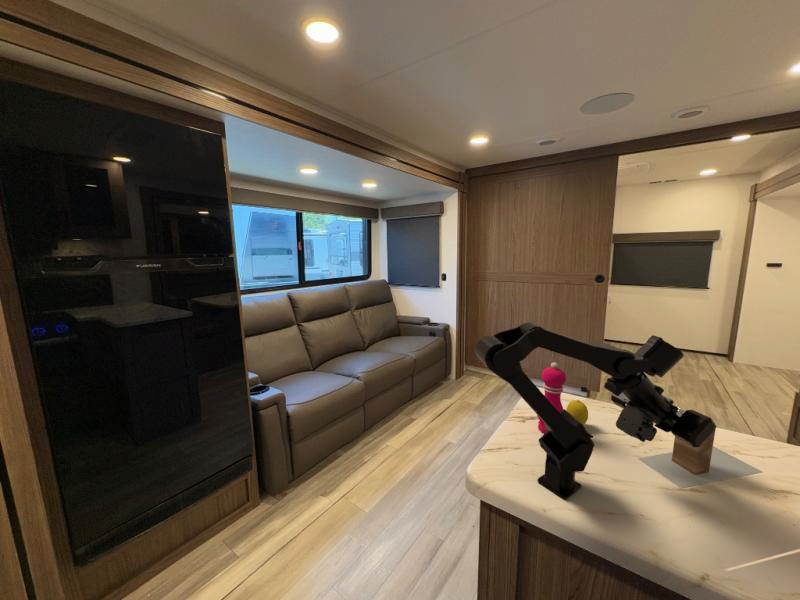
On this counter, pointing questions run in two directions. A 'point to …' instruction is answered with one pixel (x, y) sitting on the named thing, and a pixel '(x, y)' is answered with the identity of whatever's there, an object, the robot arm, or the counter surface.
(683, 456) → the walnut block
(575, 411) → the lemon
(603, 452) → the counter surface
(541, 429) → the pepper mill
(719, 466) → the strip
